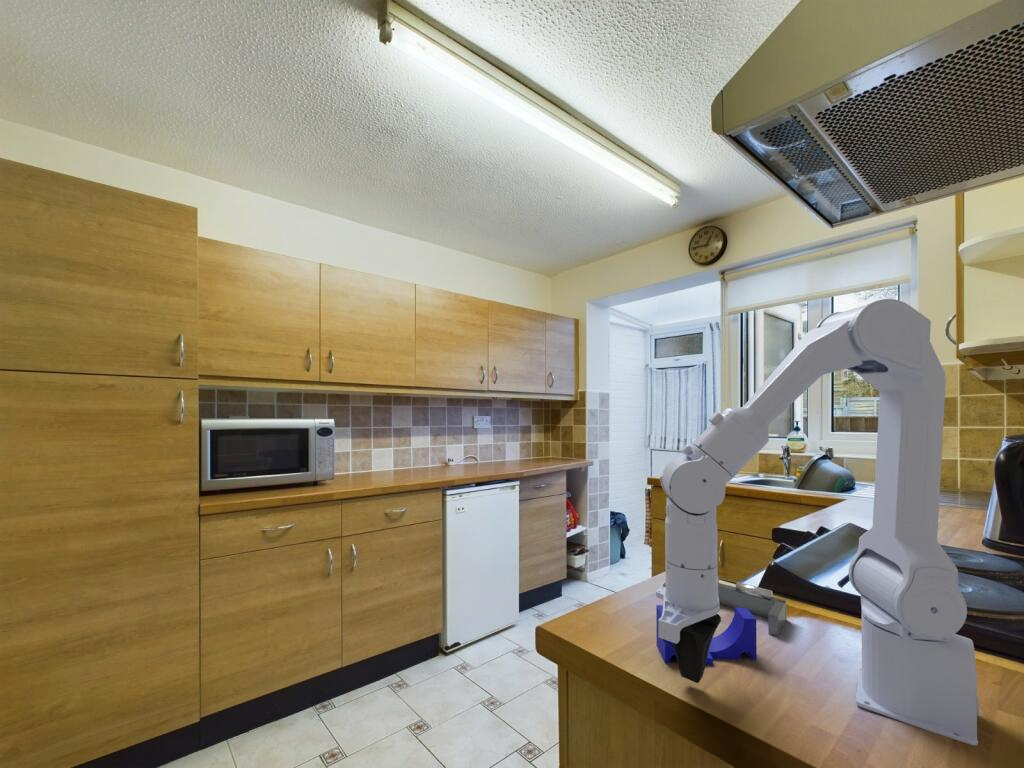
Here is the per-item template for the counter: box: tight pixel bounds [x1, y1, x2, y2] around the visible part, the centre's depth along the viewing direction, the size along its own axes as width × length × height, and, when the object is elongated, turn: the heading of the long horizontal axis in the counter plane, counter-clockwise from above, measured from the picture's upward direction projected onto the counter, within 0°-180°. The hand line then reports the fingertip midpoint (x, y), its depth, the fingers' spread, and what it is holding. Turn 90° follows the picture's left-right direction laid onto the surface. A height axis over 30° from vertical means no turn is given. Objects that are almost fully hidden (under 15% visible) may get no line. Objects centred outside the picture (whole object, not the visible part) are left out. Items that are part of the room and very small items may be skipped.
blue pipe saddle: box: [655, 604, 758, 665], centre depth 61 cm, size 12×4×6 cm, turn 86°
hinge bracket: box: [662, 577, 787, 637], centre depth 74 cm, size 17×7×4 cm, turn 50°
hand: (691, 677), depth 54 cm, fingers closed
